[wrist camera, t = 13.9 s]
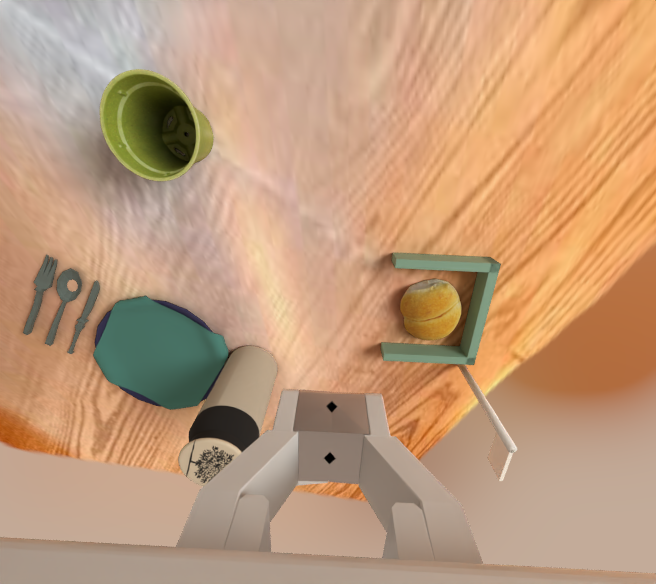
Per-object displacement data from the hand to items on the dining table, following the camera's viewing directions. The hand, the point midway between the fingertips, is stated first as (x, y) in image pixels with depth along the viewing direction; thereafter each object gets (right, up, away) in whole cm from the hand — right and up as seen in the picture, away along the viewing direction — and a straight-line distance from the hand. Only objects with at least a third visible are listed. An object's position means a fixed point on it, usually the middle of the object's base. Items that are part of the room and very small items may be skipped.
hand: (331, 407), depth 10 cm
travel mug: (-12, -8, +41) cm, 44 cm away
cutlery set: (-30, -3, +40) cm, 50 cm away
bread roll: (+14, +2, +36) cm, 39 cm away
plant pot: (-17, +22, +28) cm, 40 cm away
